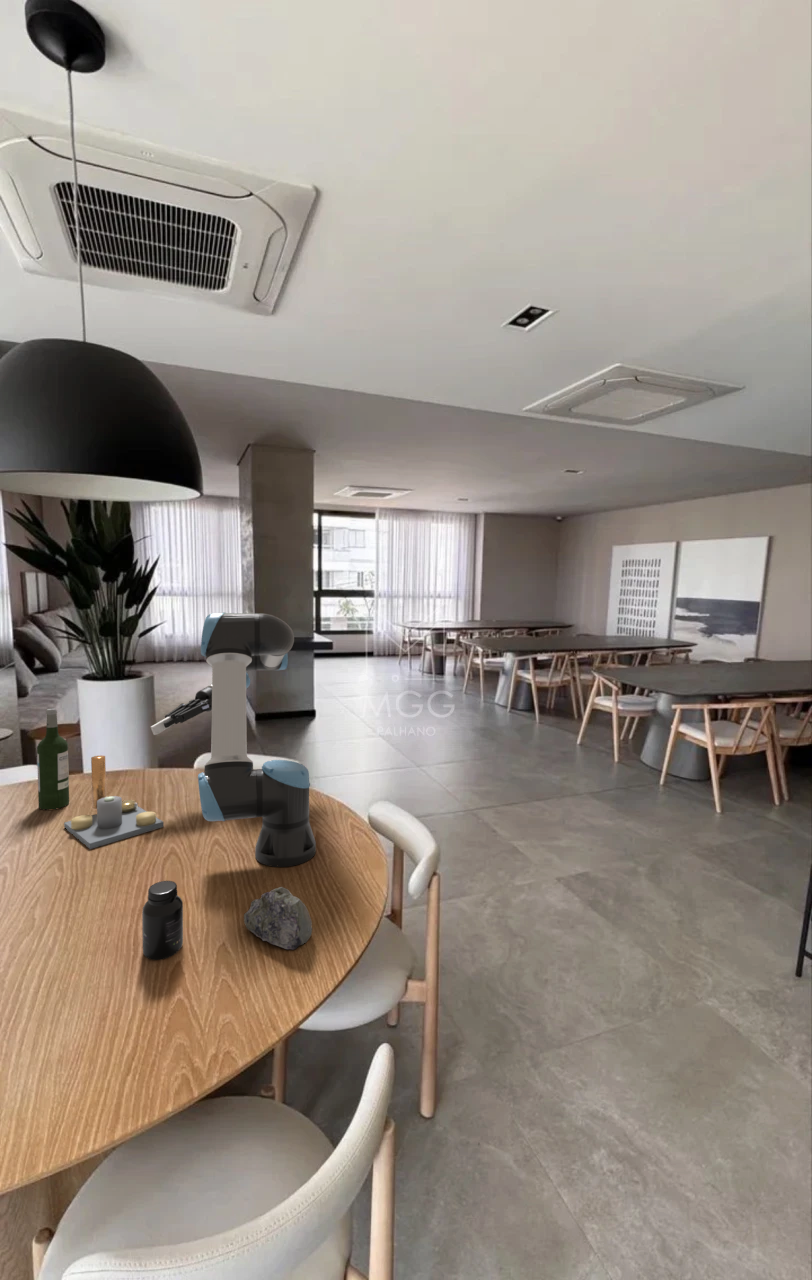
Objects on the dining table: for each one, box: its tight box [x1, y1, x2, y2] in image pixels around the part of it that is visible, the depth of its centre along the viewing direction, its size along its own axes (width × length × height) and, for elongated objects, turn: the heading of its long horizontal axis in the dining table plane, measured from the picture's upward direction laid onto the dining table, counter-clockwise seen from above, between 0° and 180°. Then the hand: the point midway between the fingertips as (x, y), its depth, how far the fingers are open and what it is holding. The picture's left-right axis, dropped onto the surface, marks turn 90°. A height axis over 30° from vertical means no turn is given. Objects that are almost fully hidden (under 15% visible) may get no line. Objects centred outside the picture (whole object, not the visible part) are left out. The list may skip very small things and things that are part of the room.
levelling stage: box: [63, 795, 165, 850], centre depth 152 cm, size 19×19×9 cm
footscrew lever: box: [90, 754, 139, 812], centre depth 160 cm, size 13×5×16 cm, turn 91°
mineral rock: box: [243, 886, 313, 951], centre depth 105 cm, size 13×11×10 cm
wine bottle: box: [36, 708, 70, 810], centre depth 166 cm, size 8×8×30 cm
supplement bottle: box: [141, 880, 184, 961], centre depth 100 cm, size 7×7×12 cm
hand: (153, 730), depth 161 cm, fingers closed
